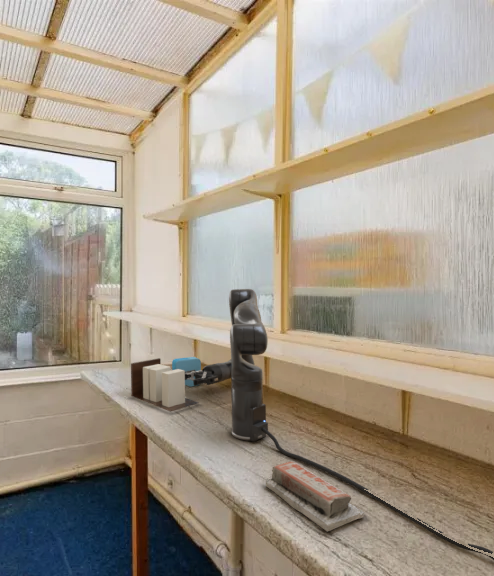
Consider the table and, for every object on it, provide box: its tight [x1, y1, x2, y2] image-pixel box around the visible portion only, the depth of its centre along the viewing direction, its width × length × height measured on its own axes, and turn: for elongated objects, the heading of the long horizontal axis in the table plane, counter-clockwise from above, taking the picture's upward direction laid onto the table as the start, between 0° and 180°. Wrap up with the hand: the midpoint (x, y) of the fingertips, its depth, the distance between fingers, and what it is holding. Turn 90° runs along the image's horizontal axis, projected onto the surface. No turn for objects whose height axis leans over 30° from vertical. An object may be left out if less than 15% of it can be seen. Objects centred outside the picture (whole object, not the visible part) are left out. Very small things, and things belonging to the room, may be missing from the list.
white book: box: [143, 363, 165, 400], centre depth 150 cm, size 4×8×12 cm, turn 130°
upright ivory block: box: [162, 369, 186, 407], centre depth 141 cm, size 4×8×12 cm, turn 130°
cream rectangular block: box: [149, 364, 172, 402], centre depth 147 cm, size 4×8×12 cm, turn 135°
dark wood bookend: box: [130, 357, 200, 412], centre depth 147 cm, size 25×14×14 cm, turn 40°
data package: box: [171, 356, 202, 388], centre depth 169 cm, size 12×4×12 cm, turn 113°
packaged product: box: [265, 461, 365, 532], centre depth 80 cm, size 18×5×10 cm
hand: (186, 380), depth 145 cm, fingers open, 8 cm apart
